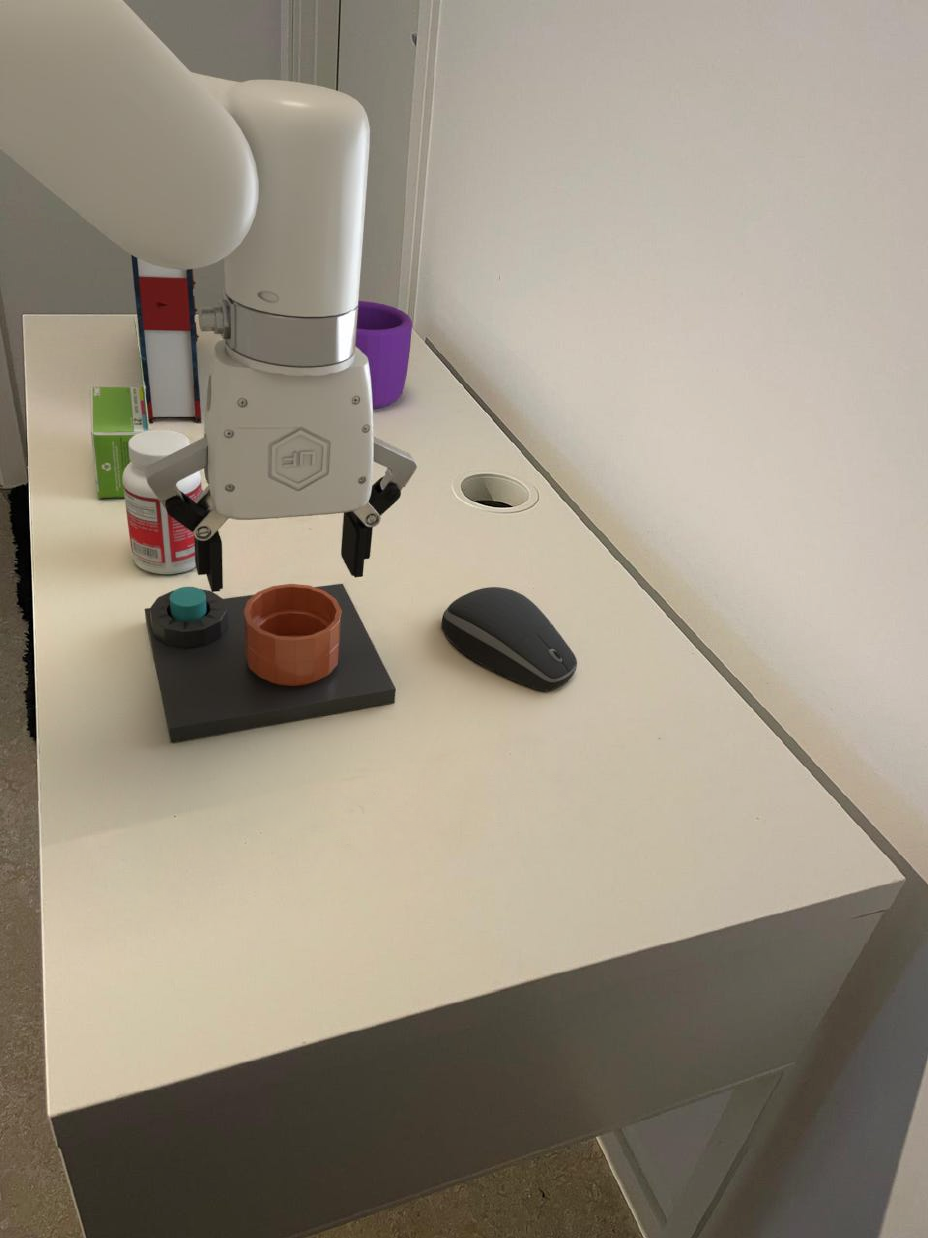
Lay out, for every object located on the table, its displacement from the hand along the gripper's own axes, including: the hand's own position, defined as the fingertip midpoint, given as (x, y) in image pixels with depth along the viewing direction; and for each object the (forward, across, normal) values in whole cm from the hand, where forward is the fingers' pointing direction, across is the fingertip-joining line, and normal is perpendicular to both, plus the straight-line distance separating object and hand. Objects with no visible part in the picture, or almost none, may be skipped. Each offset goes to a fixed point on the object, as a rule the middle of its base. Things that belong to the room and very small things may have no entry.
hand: (284, 573), depth 62 cm
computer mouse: (+9, +18, -1) cm, 20 cm away
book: (+9, 0, +58) cm, 58 cm away
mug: (+9, +21, +53) cm, 58 cm away
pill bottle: (+10, -6, +18) cm, 21 cm away
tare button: (+7, -6, +6) cm, 11 cm away
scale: (+9, -1, +2) cm, 10 cm away
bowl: (+8, +1, 0) cm, 8 cm away
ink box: (+10, -8, +34) cm, 36 cm away
